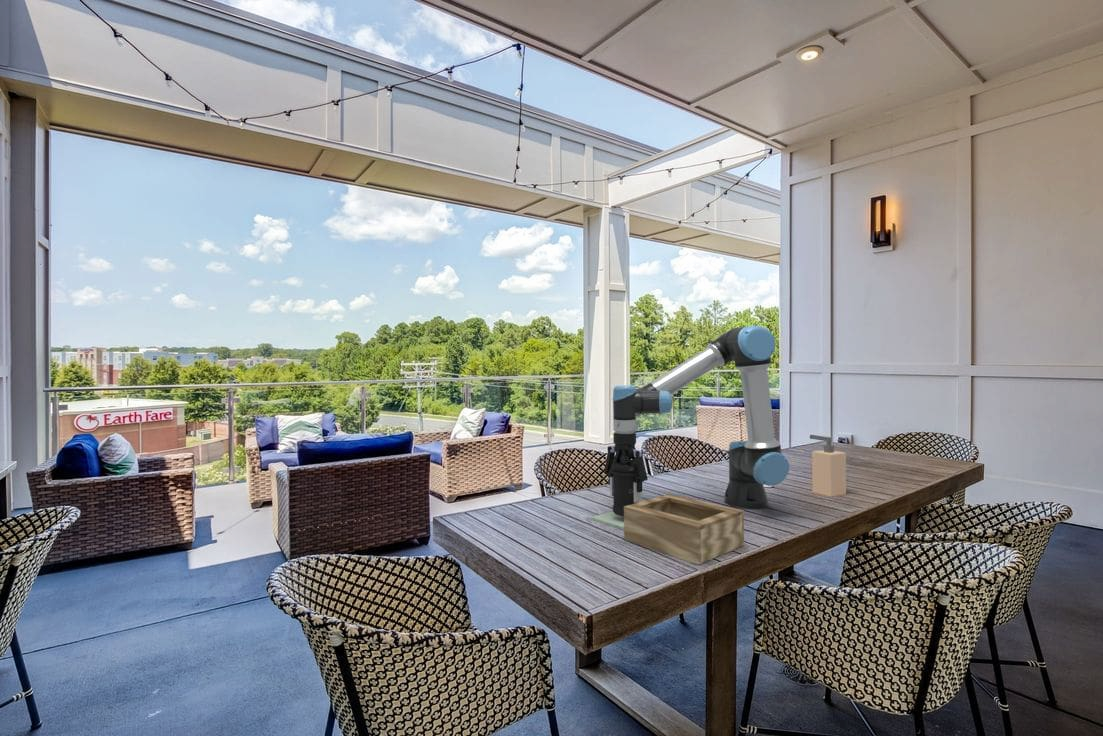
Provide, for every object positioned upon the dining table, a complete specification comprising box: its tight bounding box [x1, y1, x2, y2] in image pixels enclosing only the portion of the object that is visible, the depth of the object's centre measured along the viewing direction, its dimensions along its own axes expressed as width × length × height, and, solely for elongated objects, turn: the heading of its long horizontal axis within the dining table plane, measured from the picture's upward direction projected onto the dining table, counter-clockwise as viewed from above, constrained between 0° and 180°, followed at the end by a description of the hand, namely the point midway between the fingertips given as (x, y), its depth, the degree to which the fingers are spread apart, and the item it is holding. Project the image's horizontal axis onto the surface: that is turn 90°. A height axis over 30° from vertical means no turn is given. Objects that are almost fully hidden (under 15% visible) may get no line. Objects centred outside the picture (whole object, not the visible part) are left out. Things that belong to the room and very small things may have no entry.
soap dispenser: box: [809, 434, 847, 498], centre depth 213 cm, size 13×9×22 cm
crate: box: [623, 493, 745, 565], centre depth 156 cm, size 22×26×10 cm
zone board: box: [591, 510, 624, 531], centre depth 179 cm, size 16×16×1 cm
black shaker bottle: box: [612, 453, 638, 516], centre depth 179 cm, size 9×11×20 cm
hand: (625, 498), depth 179 cm, fingers closed on black shaker bottle, 10 cm apart
